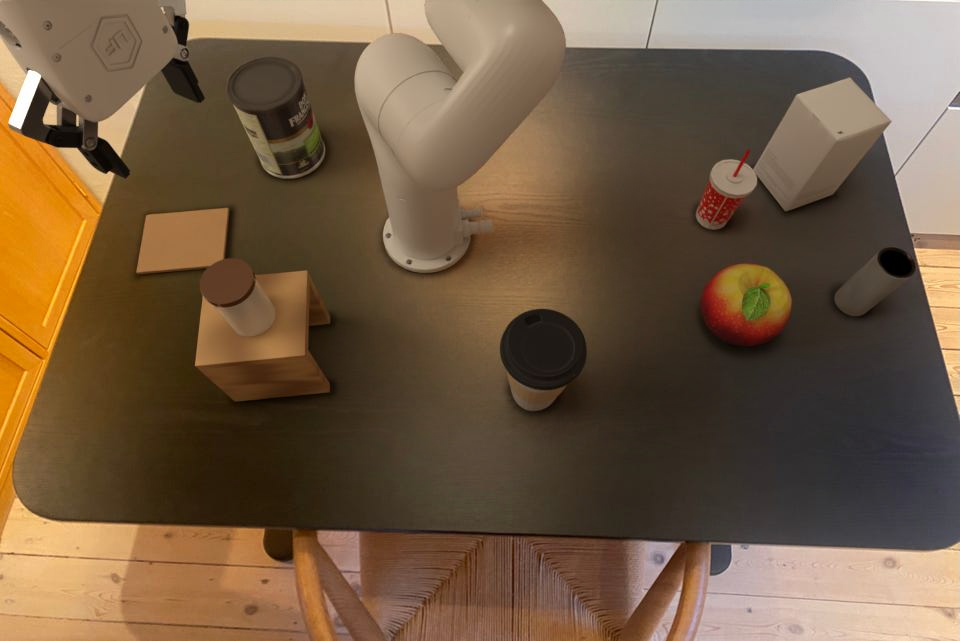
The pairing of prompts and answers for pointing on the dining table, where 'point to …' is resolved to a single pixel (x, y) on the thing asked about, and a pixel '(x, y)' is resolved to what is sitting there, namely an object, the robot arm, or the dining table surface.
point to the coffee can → (277, 116)
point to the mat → (183, 240)
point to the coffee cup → (541, 356)
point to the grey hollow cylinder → (875, 281)
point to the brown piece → (266, 344)
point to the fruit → (746, 304)
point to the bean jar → (238, 297)
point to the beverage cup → (725, 192)
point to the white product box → (819, 143)
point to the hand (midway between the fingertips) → (154, 132)
